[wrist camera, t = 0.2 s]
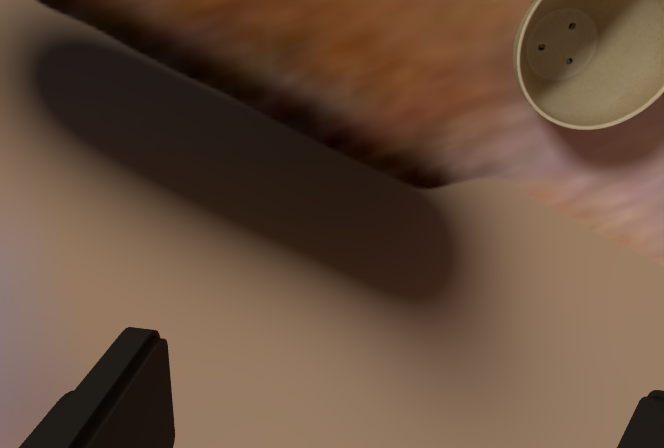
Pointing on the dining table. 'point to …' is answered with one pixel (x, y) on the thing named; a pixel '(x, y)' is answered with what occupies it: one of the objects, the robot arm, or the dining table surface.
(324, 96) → the dining table surface
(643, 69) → the flower pot
